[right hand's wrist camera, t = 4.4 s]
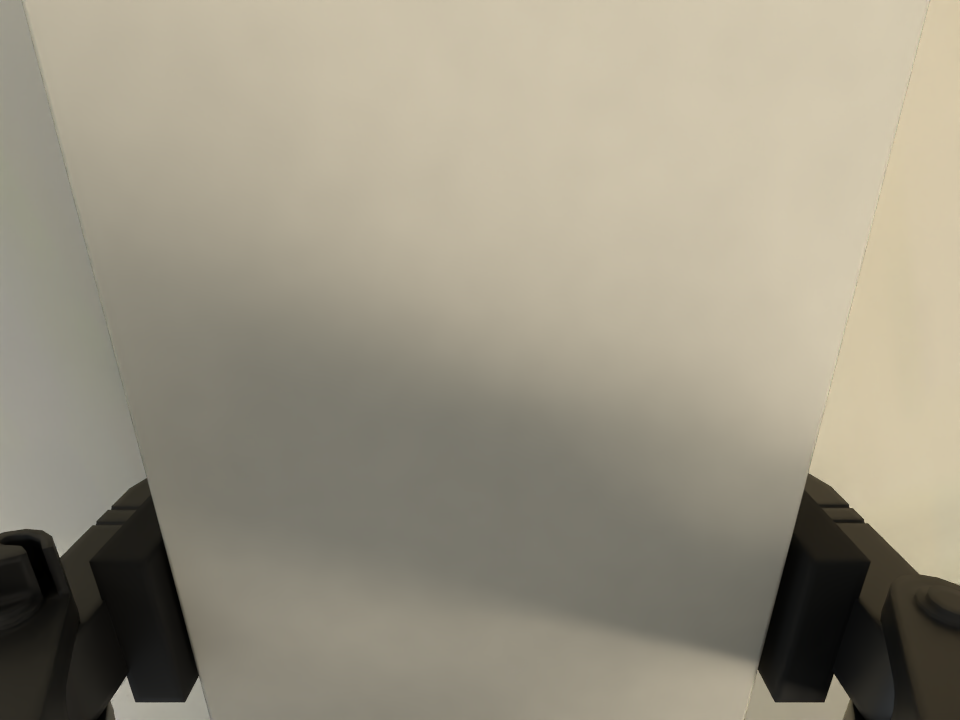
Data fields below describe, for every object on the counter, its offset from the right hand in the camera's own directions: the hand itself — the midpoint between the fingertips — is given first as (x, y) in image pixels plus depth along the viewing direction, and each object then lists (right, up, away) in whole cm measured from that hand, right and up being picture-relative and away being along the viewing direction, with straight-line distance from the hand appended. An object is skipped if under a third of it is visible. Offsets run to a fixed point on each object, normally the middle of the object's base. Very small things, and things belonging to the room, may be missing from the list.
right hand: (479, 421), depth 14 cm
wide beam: (0, +23, -9) cm, 25 cm away
